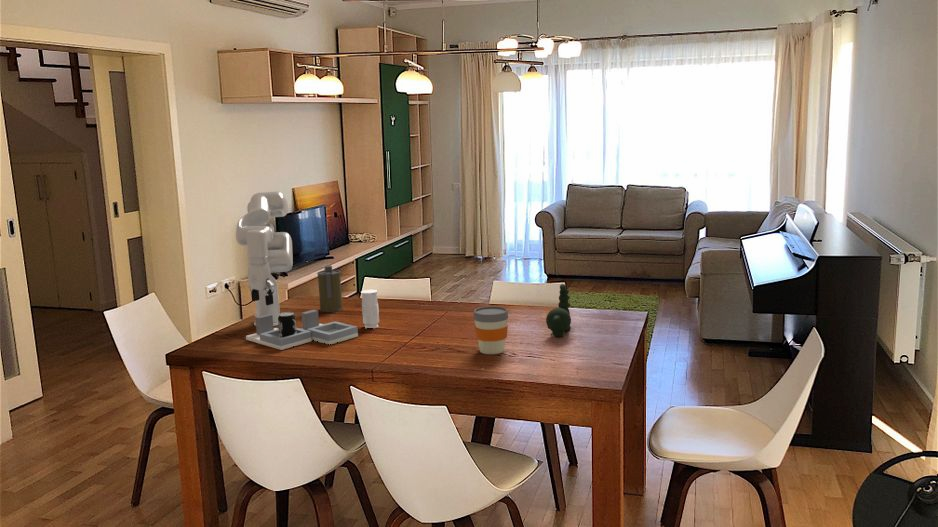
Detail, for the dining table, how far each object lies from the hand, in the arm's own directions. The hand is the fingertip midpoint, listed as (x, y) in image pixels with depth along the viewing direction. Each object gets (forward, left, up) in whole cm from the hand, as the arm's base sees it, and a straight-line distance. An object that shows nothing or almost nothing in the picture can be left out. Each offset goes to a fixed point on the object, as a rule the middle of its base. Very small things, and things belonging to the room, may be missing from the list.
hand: (262, 302), depth 306 cm
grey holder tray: (+10, 0, -14) cm, 17 cm away
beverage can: (+16, 0, -14) cm, 22 cm away
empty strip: (+20, +15, -14) cm, 28 cm away
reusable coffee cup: (+87, +39, -14) cm, 96 cm away
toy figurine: (+94, +72, -14) cm, 119 cm away
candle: (+25, +35, -14) cm, 45 cm away
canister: (-13, +44, -14) cm, 48 cm away
